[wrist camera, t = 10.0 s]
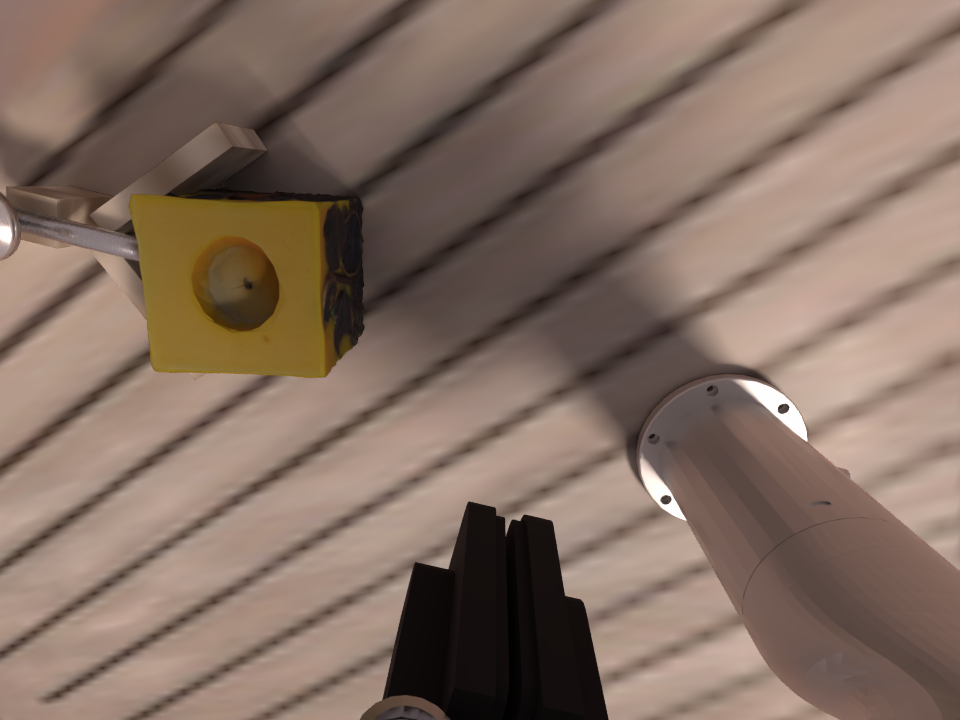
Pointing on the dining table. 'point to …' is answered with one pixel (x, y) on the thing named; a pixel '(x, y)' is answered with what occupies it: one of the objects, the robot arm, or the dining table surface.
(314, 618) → the dining table surface
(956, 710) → the robot arm
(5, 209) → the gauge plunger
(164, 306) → the candle
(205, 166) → the centring jig
